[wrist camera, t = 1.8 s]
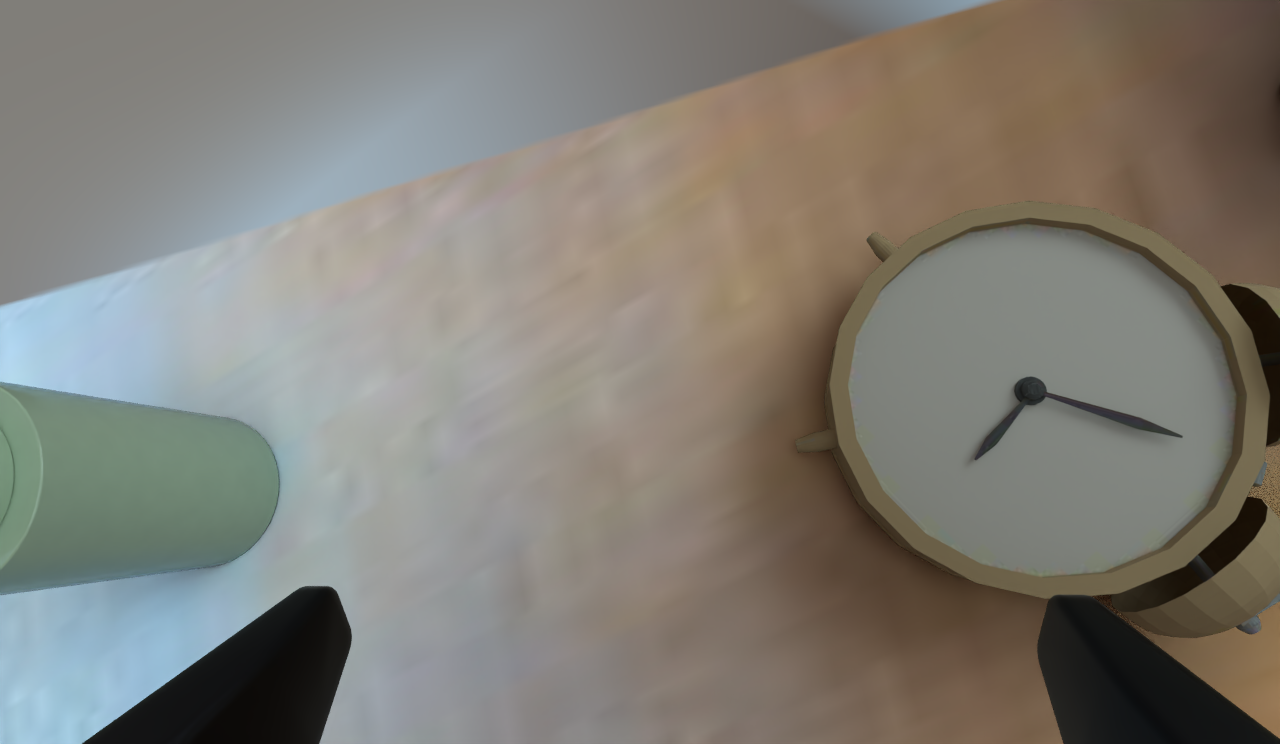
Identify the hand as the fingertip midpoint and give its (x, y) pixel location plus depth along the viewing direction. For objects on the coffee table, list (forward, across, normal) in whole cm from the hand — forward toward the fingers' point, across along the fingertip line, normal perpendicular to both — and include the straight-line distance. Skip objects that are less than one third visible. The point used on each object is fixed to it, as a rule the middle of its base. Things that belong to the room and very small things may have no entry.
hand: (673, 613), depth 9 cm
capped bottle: (+13, +18, +8) cm, 24 cm away
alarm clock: (+14, -11, +6) cm, 19 cm away
